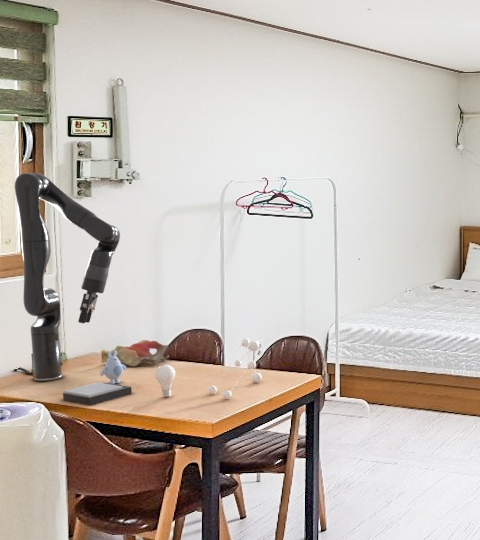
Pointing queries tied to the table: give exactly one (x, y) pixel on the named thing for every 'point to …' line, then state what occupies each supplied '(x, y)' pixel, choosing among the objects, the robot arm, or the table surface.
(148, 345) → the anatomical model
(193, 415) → the table surface
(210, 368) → the table surface
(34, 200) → the robot arm
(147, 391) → the table surface
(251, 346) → the molecule model
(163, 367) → the lightbulb
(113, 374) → the toy figure
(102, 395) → the scale
